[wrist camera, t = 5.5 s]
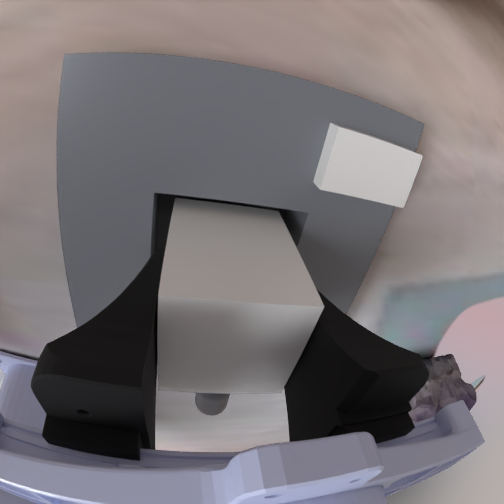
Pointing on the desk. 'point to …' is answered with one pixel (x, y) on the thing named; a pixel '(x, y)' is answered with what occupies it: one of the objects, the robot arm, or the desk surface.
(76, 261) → the socket plate
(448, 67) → the desk surface
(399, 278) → the desk surface
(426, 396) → the geode
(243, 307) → the plug
